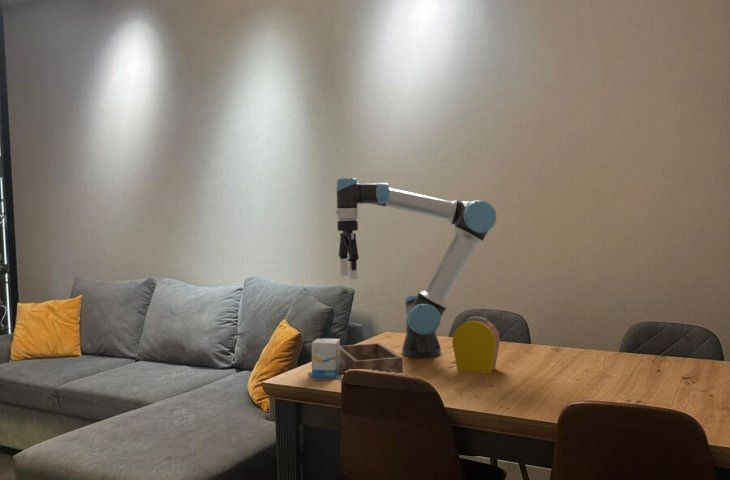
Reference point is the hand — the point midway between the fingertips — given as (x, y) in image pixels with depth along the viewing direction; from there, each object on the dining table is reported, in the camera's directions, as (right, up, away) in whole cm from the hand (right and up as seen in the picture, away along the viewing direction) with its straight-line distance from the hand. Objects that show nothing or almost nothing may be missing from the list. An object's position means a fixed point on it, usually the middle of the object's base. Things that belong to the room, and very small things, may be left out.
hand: (348, 277), depth 239 cm
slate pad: (-7, -33, -18) cm, 38 cm away
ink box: (-7, -32, -18) cm, 38 cm away
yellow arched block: (+45, -32, -14) cm, 57 cm away
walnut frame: (+7, -32, -14) cm, 36 cm away
